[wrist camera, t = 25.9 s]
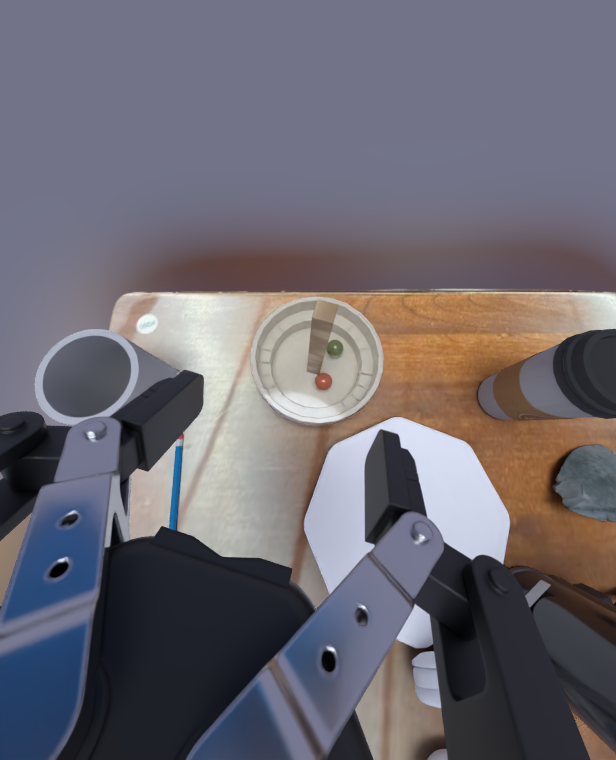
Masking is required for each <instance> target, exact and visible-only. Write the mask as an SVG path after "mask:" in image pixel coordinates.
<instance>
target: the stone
mask: <svg viewBox="0 0 616 760" xmlns="http://www.w3.org/2000/svg"><path fill="white" fill-rule="evenodd" d="M555 480H556V481H557V483H556V484H554V485H553V486H552V487H553V488H554V491H556V492H557V493H559V494H560V495H561V496H562V498H563V500H562V502H563V504H564V506H565V507H566V508H567V509H569V510H571V511H574V512H576V513H578V514H581V515H583V516H586V517H591V518H594V519H597V520H599V521H601V522H604V521H605V520H607V521H609V522H616V455H615V454H614V453H613V452H612V451H610V450H609V449H607V448H605V447H604V446H602V445H588V446H582V447H580V448H577V449H574V450H573V451H572V452H571V454H570V455H569V456H568V457H567V459H566V460H565V463H564V465H563V466H562V467H561V470H560V473H559V474H558V475H557V477H556V479H555Z"/></svg>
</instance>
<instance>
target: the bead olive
mask: <svg viewBox="0 0 616 760" xmlns="http://www.w3.org/2000/svg"><path fill="white" fill-rule="evenodd" d="M343 349H344V348H343V344H342V343H341V342H340V341H339V340H331V341H329V342H328V345H327V348H326V351H327V353H328V354H329V355H330V356H332V357H338V356H340V355H341V354H342V352H343Z"/></svg>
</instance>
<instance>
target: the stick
mask: <svg viewBox="0 0 616 760" xmlns="http://www.w3.org/2000/svg"><path fill="white" fill-rule="evenodd" d="M337 309H338V304H334V303H331V302H327V301H324V300H320V299H318V300H317V302H316V305H315V309H314V312H313V315H312V321H311V331H310V342H309V352H308V363H307V372H310V373H314V374H317V375H318V374H319V373H320V370H321V366H322V363H323V359H324V356H325V352H326V348H327V345H328V341H329V338H330V334H331V330H332V327H333V323H334V319H335V316H336V312H337Z"/></svg>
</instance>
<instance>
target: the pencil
mask: <svg viewBox="0 0 616 760" xmlns="http://www.w3.org/2000/svg"><path fill="white" fill-rule="evenodd" d="M182 442H183V434H181V435H180V437H179V438H178V439H177V440H176V451H175V463H174V476H173V488H172V500H171V512H170V525H169V529H172V530H175V531H176V521H177V508H178V495H179V482H180V469H181V455H182Z"/></svg>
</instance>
